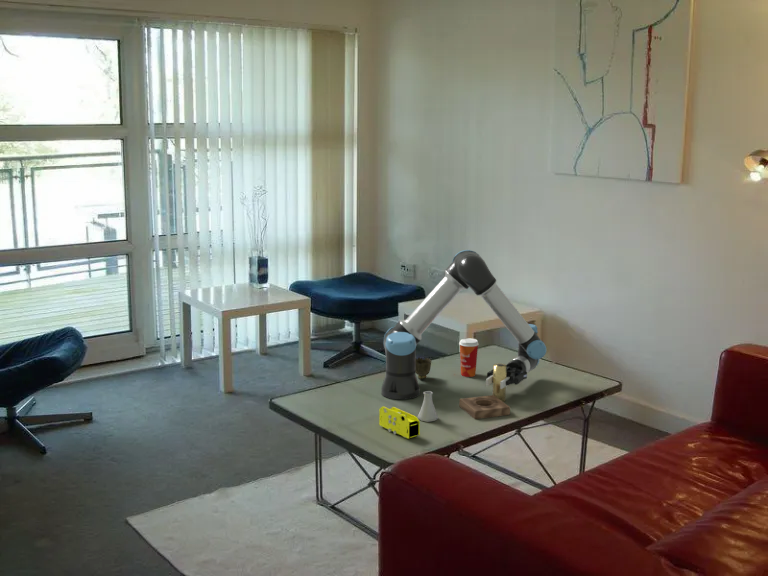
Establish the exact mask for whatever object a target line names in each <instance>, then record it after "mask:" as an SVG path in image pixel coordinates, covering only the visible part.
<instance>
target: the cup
mask: <svg viewBox="0 0 768 576" xmlns="http://www.w3.org/2000/svg"><path fill="white" fill-rule="evenodd" d="M431 366H432V359H430V358H427V357H425V359H423V357H421V358H420V357H418V358H417V357H416V369H415V374H416V376H417V378H418V379H419V380H425V379H427V377H428V375H429V373H430V371H431Z"/></svg>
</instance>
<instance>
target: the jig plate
mask: <svg viewBox="0 0 768 576" xmlns="http://www.w3.org/2000/svg"><path fill="white" fill-rule="evenodd" d="M458 405H459V408H461V409H462V410H463V411H464V412H466V413H467V414H468V415H469V416H470V417H471V418H473V419H474V420H479V419H487V418H495V417H502V416H503V417H505V416H509V415H511V406H510V405H508V404H506V403H505V402H502V401H501V400H500V399H498V398H497V397H495V396H494V395H493V394H491V395H482V396H474V397H465V398H464V397H463V398H459V404H458Z"/></svg>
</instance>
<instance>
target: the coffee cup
mask: <svg viewBox="0 0 768 576" xmlns="http://www.w3.org/2000/svg"><path fill="white" fill-rule="evenodd" d="M458 345H459V354H460V356H459V357H460V375H461V376H462V377H463V378H464V377H465V378H472V377H475V376H476V373H477V371H476V370H477V359H478V351H479V349H478V346H479V345H480V343H479V342H478V340H477V339H476V338H470V337H469V338H463V339H462V338H461V339H460V341H459V342H458Z"/></svg>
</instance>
